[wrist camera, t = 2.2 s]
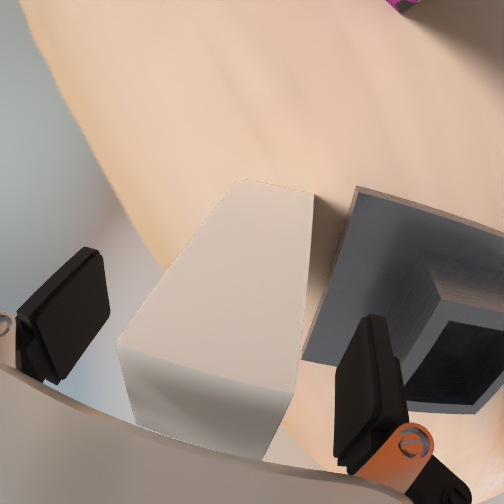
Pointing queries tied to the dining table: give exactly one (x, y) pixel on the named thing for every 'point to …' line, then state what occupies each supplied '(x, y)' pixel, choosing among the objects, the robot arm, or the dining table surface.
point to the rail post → (225, 325)
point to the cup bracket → (419, 299)
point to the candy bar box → (402, 4)
